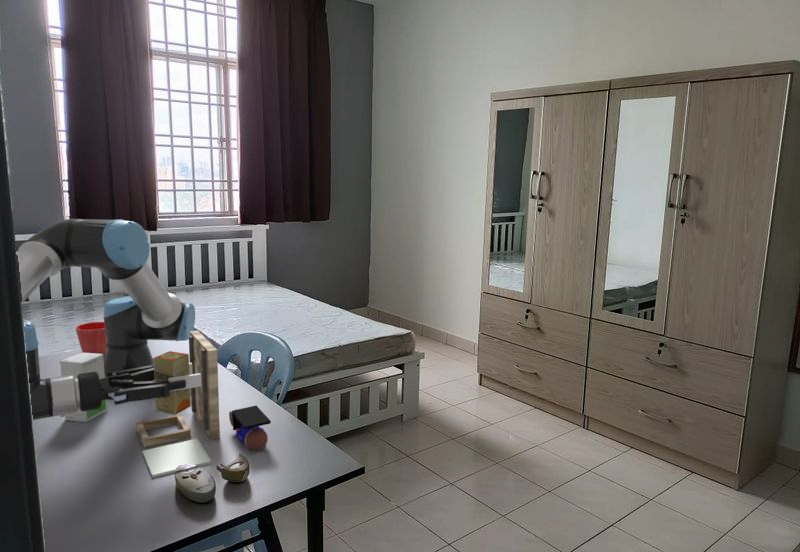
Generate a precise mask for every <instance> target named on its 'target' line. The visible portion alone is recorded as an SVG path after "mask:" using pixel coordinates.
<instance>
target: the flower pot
mask: <svg viewBox="0 0 800 552" xmlns="http://www.w3.org/2000/svg"><path fill="white" fill-rule="evenodd" d="M75 332H76V335H77V339H78V342H79V346H80V349H81V353H96V354H103V356H104V355H105V352H106V338H105V325H104V321H93V322H87V323H80V324H79V325H77V326H76V327H75Z"/></svg>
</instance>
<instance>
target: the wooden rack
mask: <svg viewBox="0 0 800 552" xmlns="http://www.w3.org/2000/svg"><path fill="white" fill-rule="evenodd" d="M188 351H189V352H188V354H189V363H192V369H193V374H198V373H200V374H201V386H200V387H194V388H191V395H190V403H191V406H190V407H191V412H192V414H193V415H194V416H195V418H196V419H197V420H198V422H199V423H200V425H201V427H202V428H203V430H204V431H205V433H206V434H207V435H208V437H209V438H210V440H211V441H212V440H218V439H220V438H221V434H220V433H221V432H220V431H221V430H220V427H221V425H220V397H219V367H218V366H219V365H218V362H219V361H218V349H217V348H216V347H215V346H214V345H213V344H212V343H211V342H210V341H209V340H208V339H207V338H206V337H205V336H204V335H203V334H202V333H201V332H200V331H199V330H193V331H190V336H189V339H188ZM187 423H188V422H186V420H185V418H184V417H183V415H182V413H178V414H176V415H173V414H172V415H168V416H162V417H159V418H154V419H148V420H147V419H146V420H144V421H138V422H136V426H135V427H136V431H137V433H138V436H139V439H140V442H141V443H142V445H143V448H147V447H151V446H155V445H156V446H157V445H161V444H164V443H166V444H167V443H170V442H174V441H179V440H180V441H181V440H184V439H187V438H192V435H191V434H192V433H191V428H190V427H189V425H188V424H187ZM171 425H178V427H179V430H173V431H167V432H165V433H159V434H154V435H150V436H149V435H148V433H147V430H151V429H156V428H160V427H166V426H171Z"/></svg>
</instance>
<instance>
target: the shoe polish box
mask: <svg viewBox="0 0 800 552" xmlns="http://www.w3.org/2000/svg"><path fill="white" fill-rule="evenodd" d="M153 359H154V374H155V380H154V381H165V380H168V378H173V377H179V376H186V375H189V363H190V357H189V353H183V352H177V351H166V352H164V353H162V354H159V355H158V356H155V357H153ZM155 406H156V407H155V411H156V412H159V413H164V414H170V415H172V416H173V415H178V414H181V412H183V411H185V410H186V409H188V408H190V407H191V395H190V388H188V389H182V390H176V391H171V392H170V396H169V397H161V398H155Z"/></svg>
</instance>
